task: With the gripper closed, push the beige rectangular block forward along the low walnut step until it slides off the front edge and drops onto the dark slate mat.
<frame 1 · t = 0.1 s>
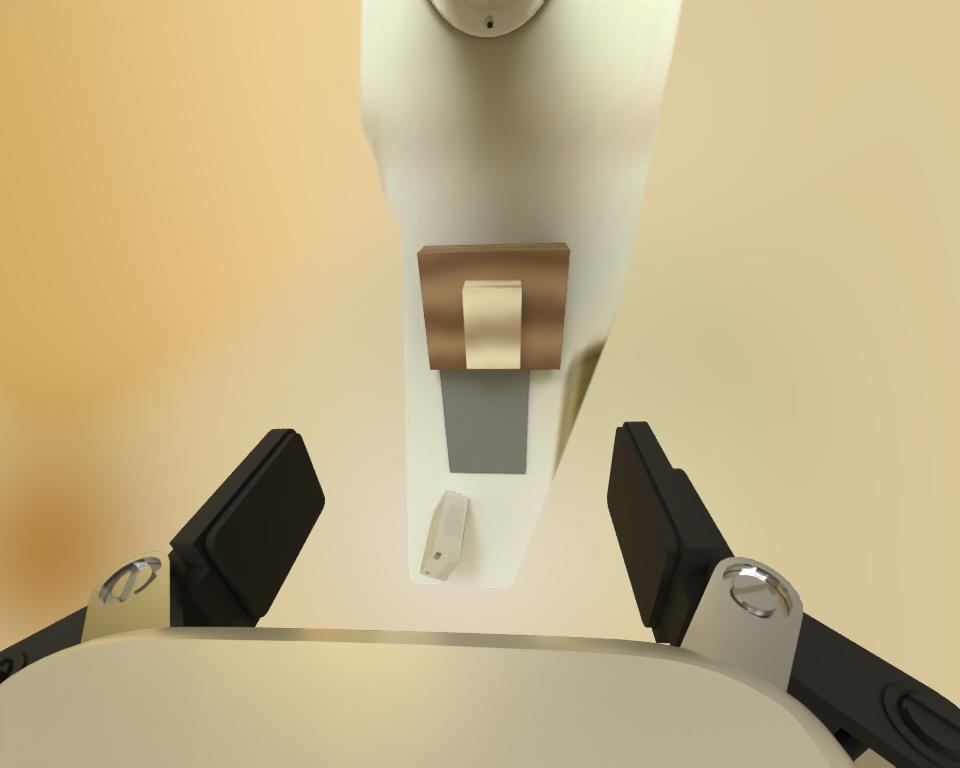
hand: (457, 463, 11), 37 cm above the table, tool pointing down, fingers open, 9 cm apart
skincare box: (451, 501, 65), on the table
mat: (486, 419, 55), on the table
step: (494, 304, 46), on the table
beige rectangular block: (493, 319, 43), point 4 cm above the table, touching step
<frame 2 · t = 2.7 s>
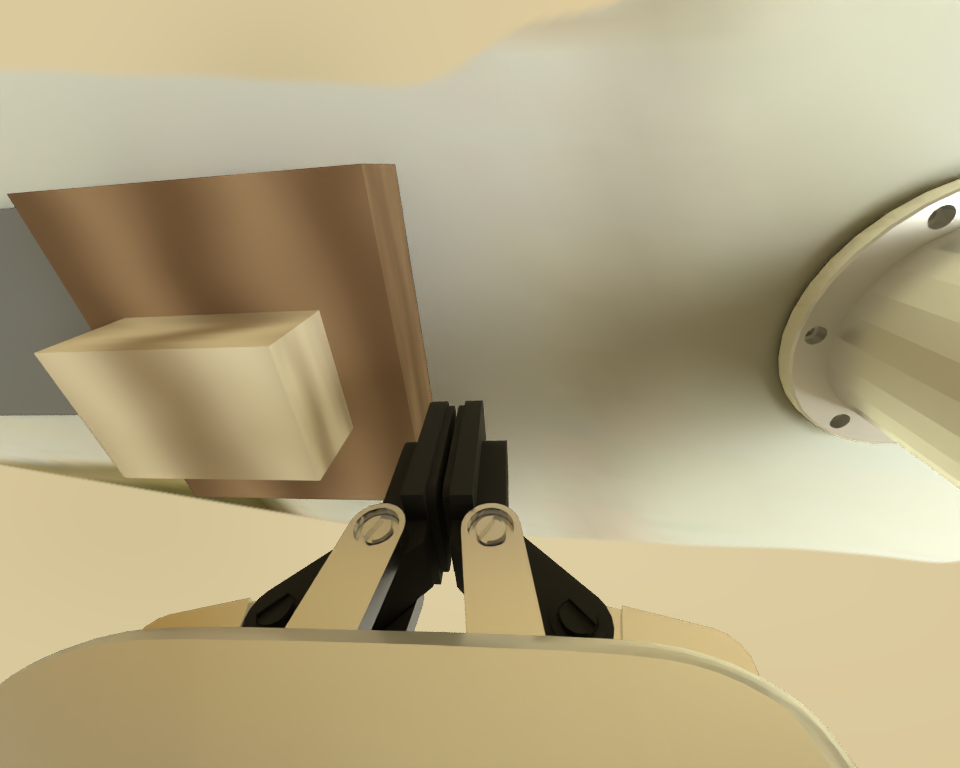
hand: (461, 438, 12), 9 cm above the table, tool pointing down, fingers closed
mat: (11, 325, 22), on the table
step: (299, 341, 21), on the table
beige rectangular block: (245, 375, 17), point 4 cm above the table, touching step
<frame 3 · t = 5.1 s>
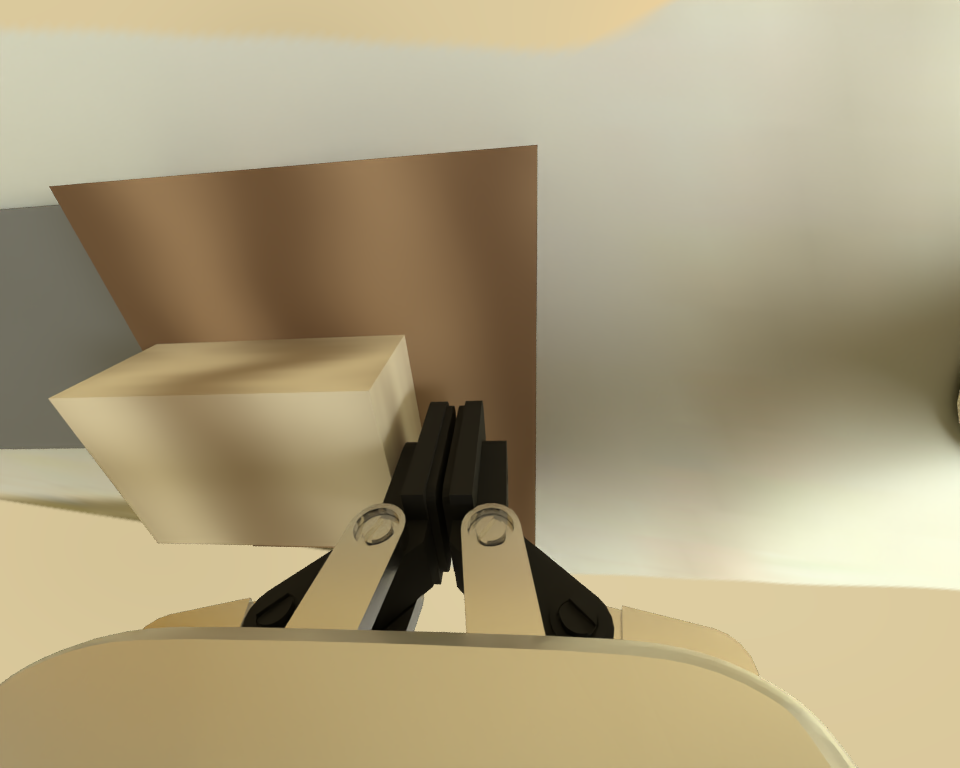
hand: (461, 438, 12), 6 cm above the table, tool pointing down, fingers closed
mat: (31, 346, 19), on the table
step: (380, 363, 18), on the table
beige rectangular block: (302, 412, 14), point 4 cm above the table, touching gripper
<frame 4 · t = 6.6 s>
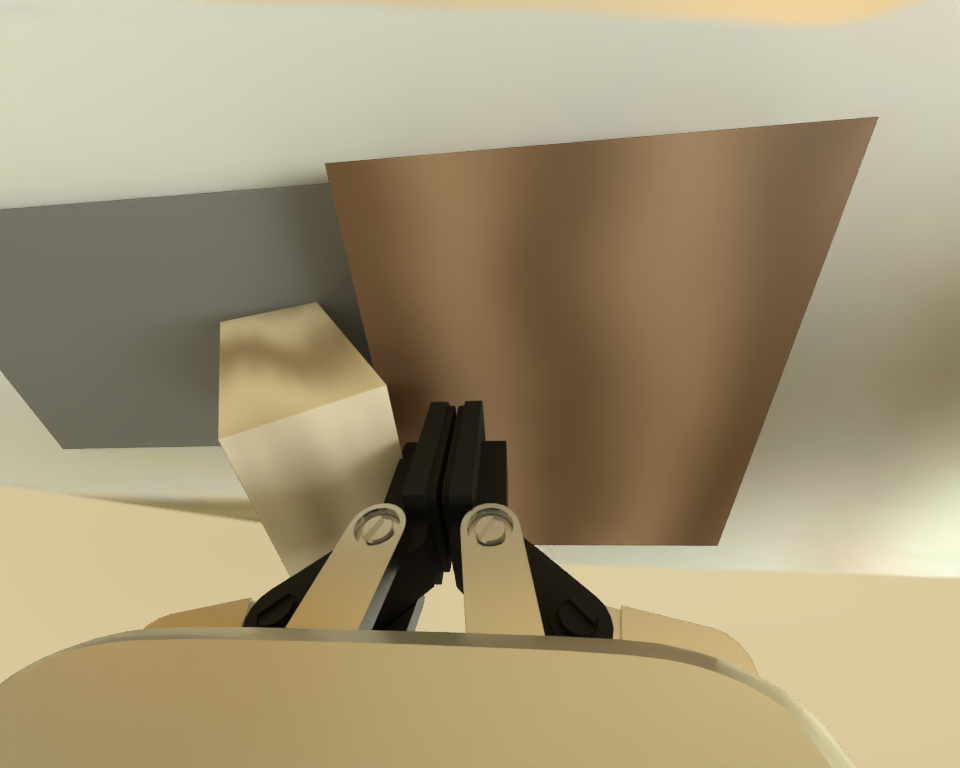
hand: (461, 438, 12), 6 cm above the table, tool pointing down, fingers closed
mat: (185, 340, 18), on the table
step: (556, 354, 17), on the table
beige rectangular block: (362, 406, 14), point 4 cm above the table, tilted 55°, touching gripper, mat
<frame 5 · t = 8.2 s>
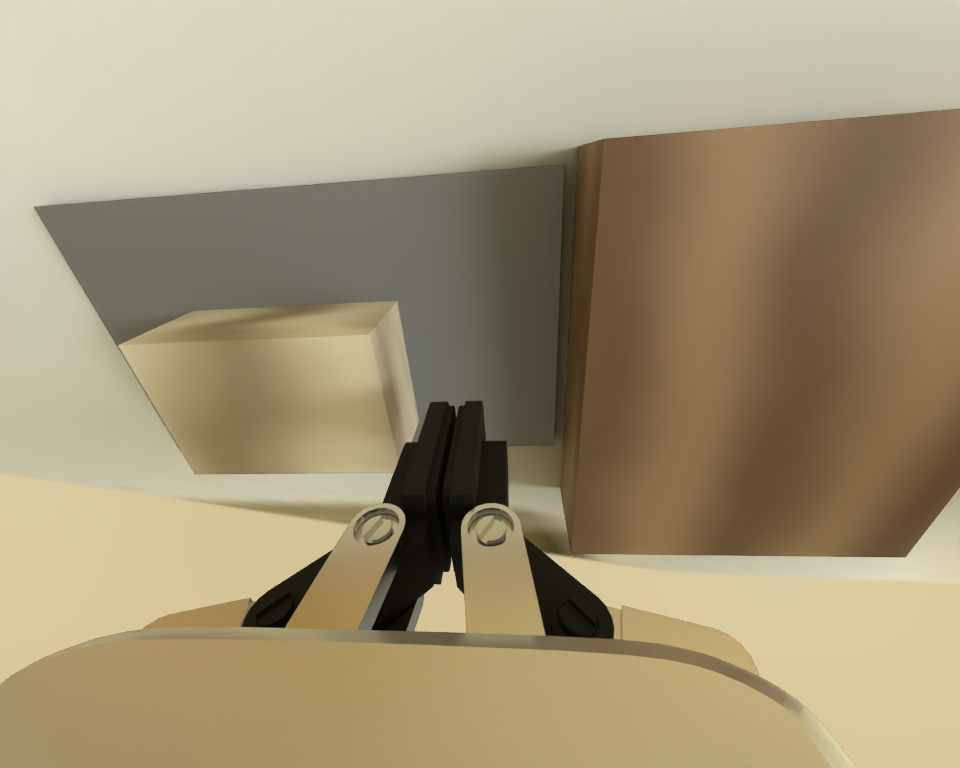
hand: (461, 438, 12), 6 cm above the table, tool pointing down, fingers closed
mat: (331, 336, 17), on the table
step: (732, 352, 16), on the table
beige rectangular block: (270, 413, 14), point 4 cm above the table, tilted 180°, touching mat
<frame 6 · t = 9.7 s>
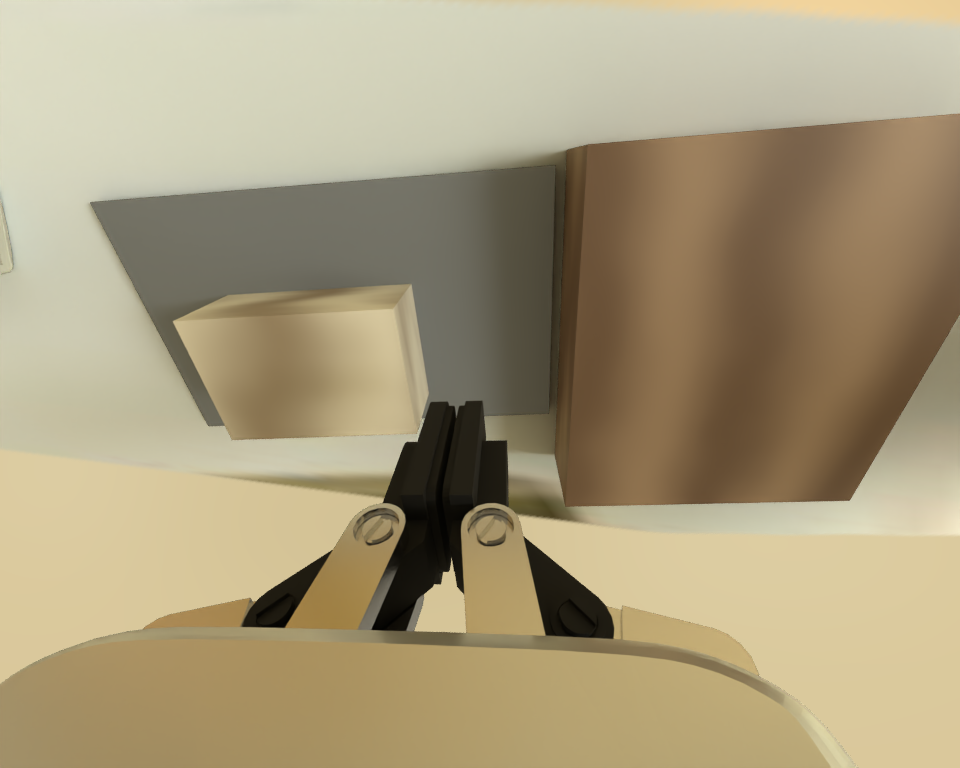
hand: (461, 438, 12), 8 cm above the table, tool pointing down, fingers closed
mat: (351, 317, 19), on the table
step: (701, 327, 19), on the table
beige rectangular block: (303, 381, 16), point 4 cm above the table, tilted 180°, touching mat
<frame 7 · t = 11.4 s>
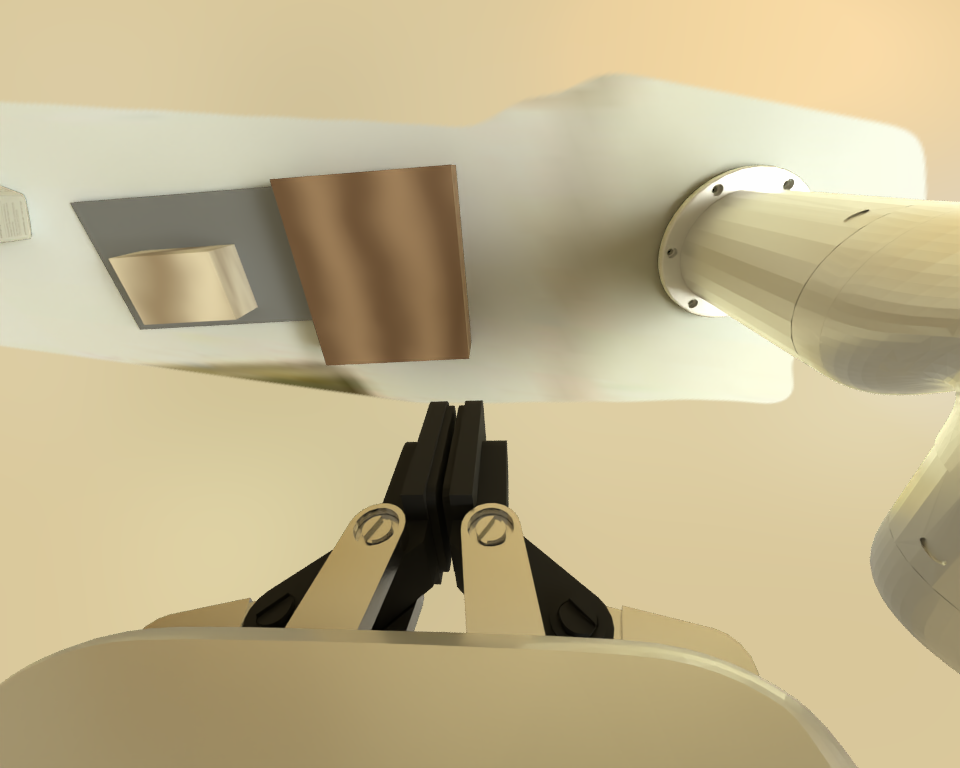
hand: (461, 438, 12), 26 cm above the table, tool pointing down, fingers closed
mat: (209, 263, 36), on the table
step: (391, 268, 36), on the table
beige rectangular block: (174, 290, 33), point 4 cm above the table, tilted 180°, touching mat
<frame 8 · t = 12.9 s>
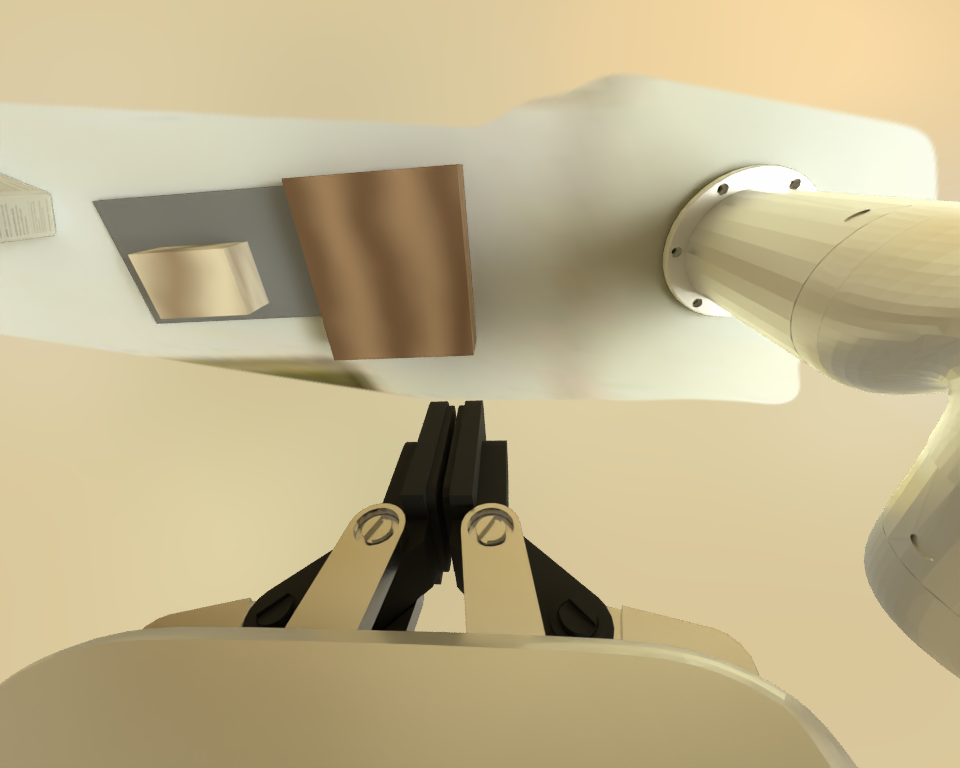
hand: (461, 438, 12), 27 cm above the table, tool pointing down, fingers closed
skincare box: (25, 200, 36), on the table
mat: (223, 260, 37), on the table
step: (398, 265, 36), on the table
beige rectangular block: (190, 285, 34), point 4 cm above the table, tilted 180°, touching mat
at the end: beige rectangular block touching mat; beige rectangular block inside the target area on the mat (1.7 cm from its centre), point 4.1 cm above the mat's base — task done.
